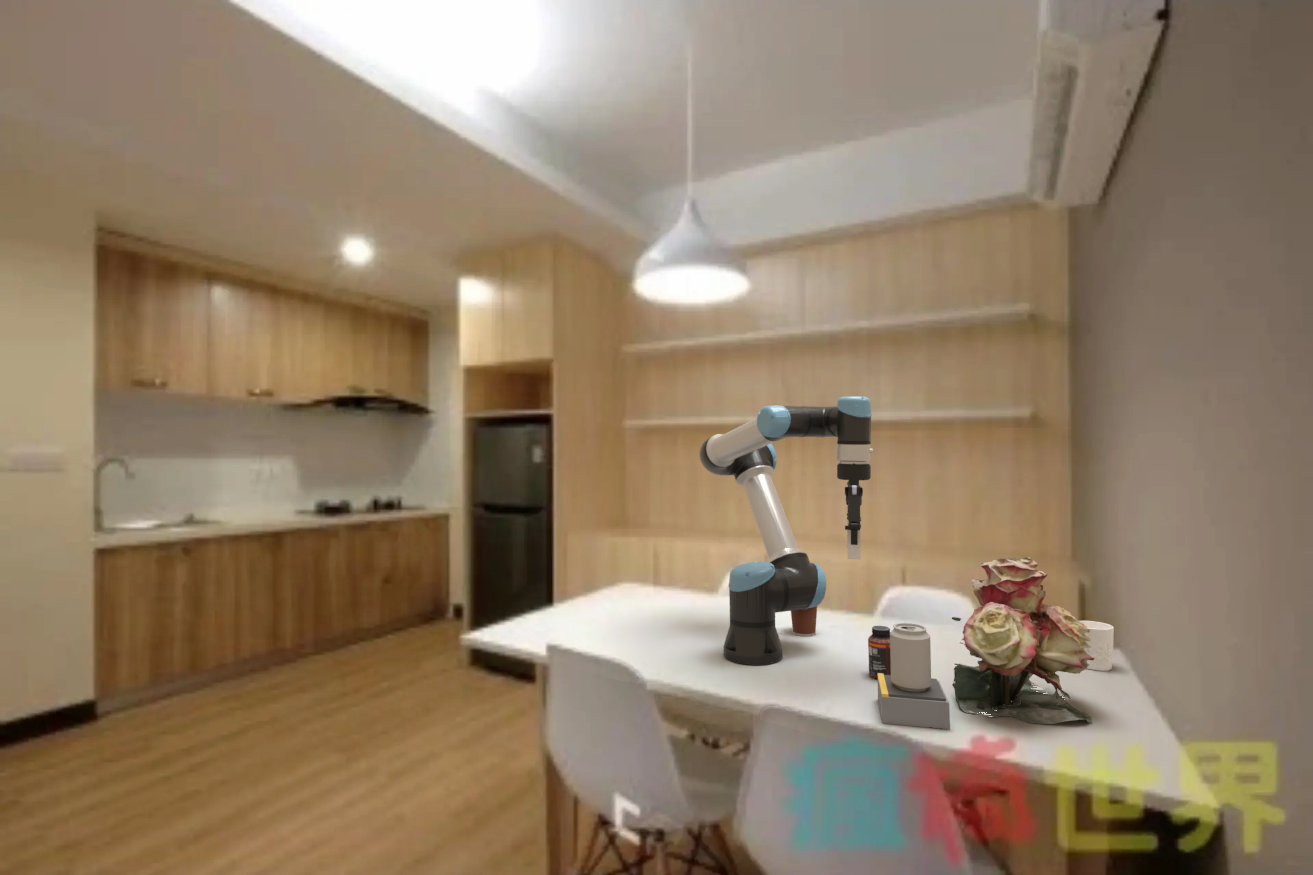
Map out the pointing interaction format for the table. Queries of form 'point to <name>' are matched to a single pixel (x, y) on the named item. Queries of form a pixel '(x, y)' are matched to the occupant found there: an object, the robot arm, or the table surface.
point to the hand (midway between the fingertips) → (853, 553)
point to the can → (910, 657)
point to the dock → (913, 705)
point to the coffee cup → (804, 621)
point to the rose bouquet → (1019, 647)
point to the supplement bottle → (879, 651)
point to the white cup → (1099, 645)
